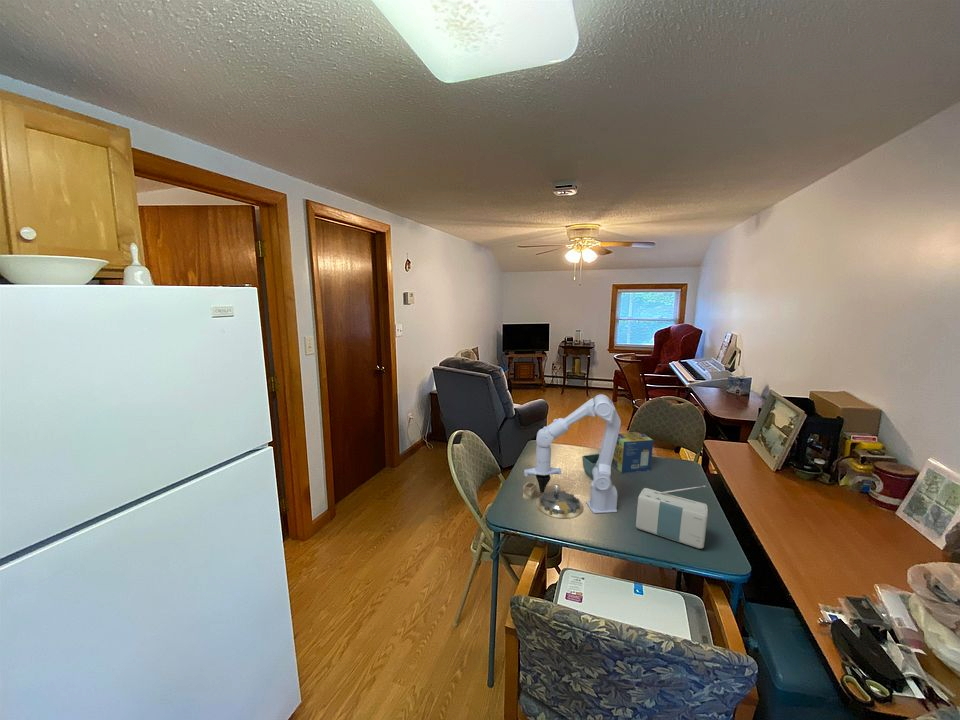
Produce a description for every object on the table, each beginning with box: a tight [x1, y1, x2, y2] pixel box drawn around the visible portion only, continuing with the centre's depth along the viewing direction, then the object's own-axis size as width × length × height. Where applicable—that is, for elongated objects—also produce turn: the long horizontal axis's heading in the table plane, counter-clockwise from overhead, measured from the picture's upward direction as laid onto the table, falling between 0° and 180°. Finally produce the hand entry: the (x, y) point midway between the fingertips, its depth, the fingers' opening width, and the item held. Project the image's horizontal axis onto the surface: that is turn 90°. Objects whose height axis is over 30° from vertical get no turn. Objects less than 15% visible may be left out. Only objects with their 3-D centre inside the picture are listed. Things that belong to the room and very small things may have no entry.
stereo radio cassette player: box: [635, 485, 709, 549], centre depth 133 cm, size 21×8×20 cm, turn 56°
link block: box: [522, 481, 537, 501], centre depth 159 cm, size 4×5×5 cm
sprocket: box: [539, 483, 580, 515], centre depth 152 cm, size 15×15×6 cm
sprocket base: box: [535, 493, 584, 520], centre depth 152 cm, size 18×18×3 cm
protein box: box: [611, 431, 654, 474], centre depth 184 cm, size 10×15×16 cm
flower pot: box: [581, 453, 600, 481], centre depth 175 cm, size 9×9×9 cm
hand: (541, 491), depth 155 cm, fingers closed
